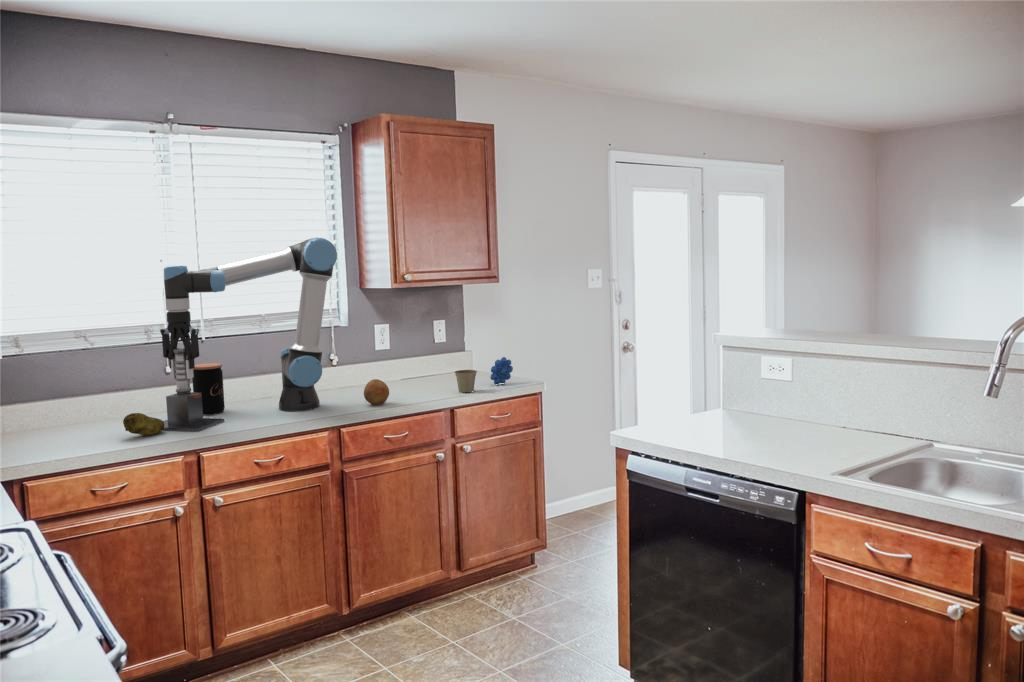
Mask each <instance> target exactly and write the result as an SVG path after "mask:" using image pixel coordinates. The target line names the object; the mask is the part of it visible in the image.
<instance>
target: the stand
mask: <svg viewBox="0 0 1024 682" xmlns="http://www.w3.org/2000/svg"><path fill="white" fill-rule="evenodd" d="M191 394H192V395H188V396H176V395H177V392H175V393H172V394H169V395H166V396H165V400H166V415H167V419H165V420H162V421H163V422H164V429H163V430H162V431H163V432H164V431H171V432H192V433H193V432H197V433H198V432H200V431H203V429H204V430H207V429H209V428H211V426H212V427H214V426H217V425H220V424H222V423H224V422H226V420H225V418H213V417H212V418H211V417H207V418H206V417H204V415H203V408H202V393H199V392H193V391H191ZM219 423H220V424H219ZM216 424H217V425H216ZM213 425H214V426H213ZM208 427H209V428H208Z"/></svg>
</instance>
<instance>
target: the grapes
mask: <svg viewBox="0 0 1024 682" xmlns="http://www.w3.org/2000/svg"><path fill="white" fill-rule="evenodd" d="M513 370H514V367H513V366H512V360H511V359H507V357H505V356H502V357H501V358H500V359H497V360H495V362H494V365H493V366H491V368H490V372H491V375H490V380H491V381H493V384H494V385H495V384H498V385H500V383H504V384H506V381H508V380H510V379H511V377H512V376H511V373H512V372H513Z"/></svg>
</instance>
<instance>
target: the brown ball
mask: <svg viewBox="0 0 1024 682" xmlns="http://www.w3.org/2000/svg"><path fill="white" fill-rule="evenodd" d="M363 389H364V390H363V397H364V399H365V401H366V402H367V403H369V404H371V405H373V406H376V405H377V406H378V405H383V404H384V403H385V402H387V400H388V398H389V396H390V389H389V386H388V385H387V384H386V382H384V381H383V380H380V379H376V378H374V379H371V380H369V381H368V382H367V383H366V385H365V387H364V388H363Z"/></svg>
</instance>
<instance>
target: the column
mask: <svg viewBox="0 0 1024 682" xmlns="http://www.w3.org/2000/svg"><path fill="white" fill-rule="evenodd" d="M173 353H174V357H175V360H174V363H175V366H174V369H175V375H176V378H174V381H176V382H175V383H176V388H175V393H177V395H176V396H188V395H192V394H191V392H192V387H191V381H192V380H191V379H192V378H190V379H187V373H186V360H187V355H186V351H185V348H184V347H177V348H175V349H173Z"/></svg>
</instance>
